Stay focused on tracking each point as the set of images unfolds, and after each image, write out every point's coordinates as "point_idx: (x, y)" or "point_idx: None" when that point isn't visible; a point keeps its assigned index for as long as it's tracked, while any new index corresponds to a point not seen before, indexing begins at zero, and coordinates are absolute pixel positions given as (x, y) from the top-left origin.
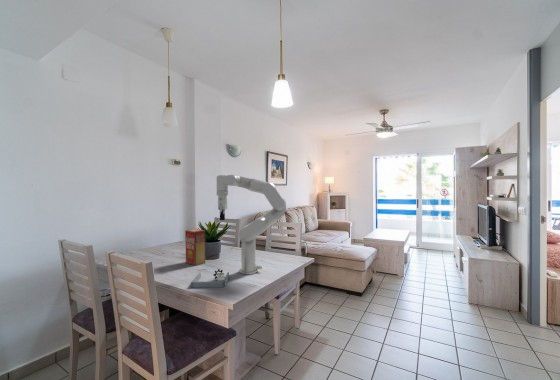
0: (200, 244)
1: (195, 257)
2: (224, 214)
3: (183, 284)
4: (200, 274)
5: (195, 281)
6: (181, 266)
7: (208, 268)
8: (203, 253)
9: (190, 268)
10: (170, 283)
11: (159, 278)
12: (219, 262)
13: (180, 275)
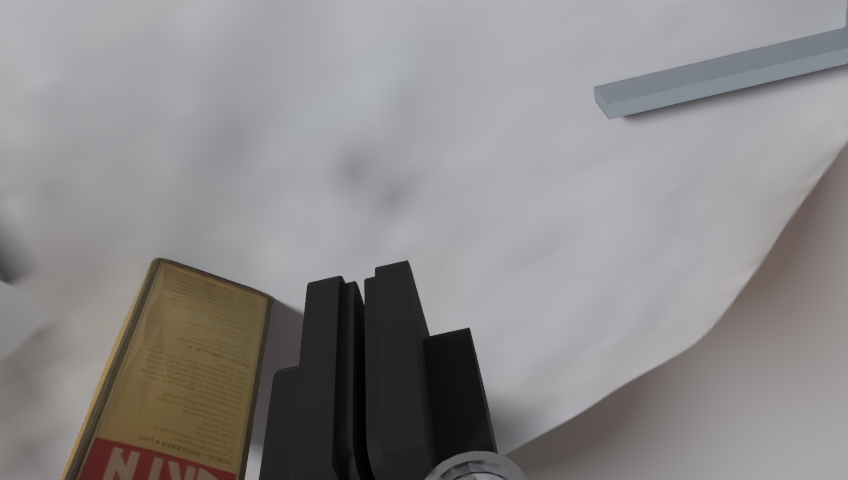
0: (176, 432)
1: (263, 353)
2: (415, 436)
3: (777, 142)
4: (615, 95)
5: (793, 50)
6: None
7: (318, 143)
8: (156, 333)
9: None
10: (747, 248)
11: (637, 375)
12: (69, 125)
13: (559, 278)
